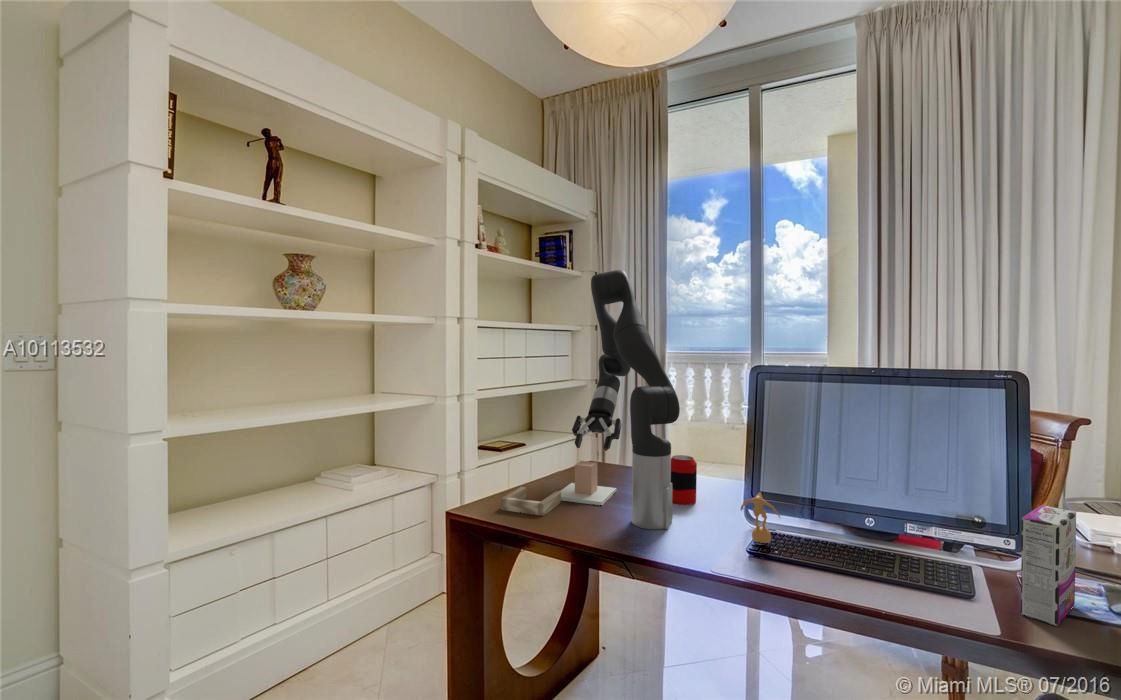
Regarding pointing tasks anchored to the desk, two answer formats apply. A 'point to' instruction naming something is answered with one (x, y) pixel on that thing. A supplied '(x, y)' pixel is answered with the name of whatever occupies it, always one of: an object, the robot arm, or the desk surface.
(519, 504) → the maple bay
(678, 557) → the desk surface
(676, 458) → the soda can
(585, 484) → the terracotta block
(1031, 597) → the candy bar box
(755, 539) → the figurine
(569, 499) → the sage mat
